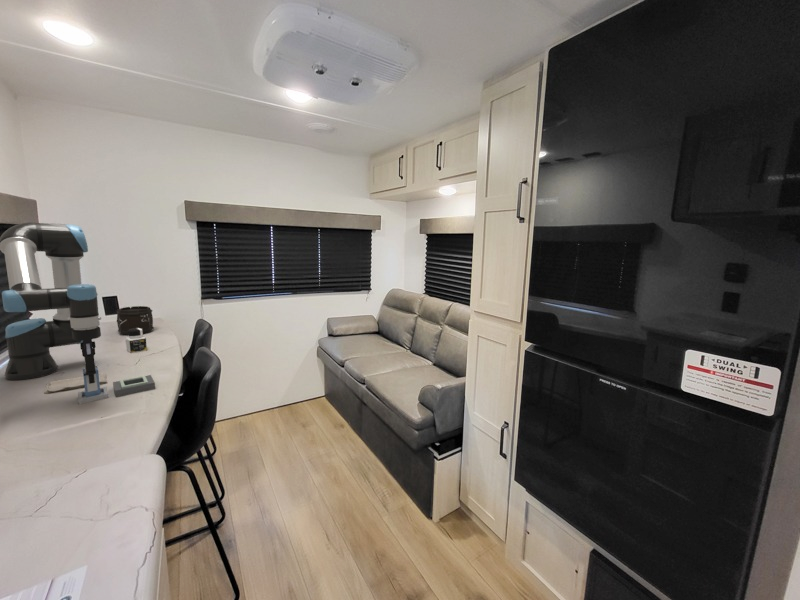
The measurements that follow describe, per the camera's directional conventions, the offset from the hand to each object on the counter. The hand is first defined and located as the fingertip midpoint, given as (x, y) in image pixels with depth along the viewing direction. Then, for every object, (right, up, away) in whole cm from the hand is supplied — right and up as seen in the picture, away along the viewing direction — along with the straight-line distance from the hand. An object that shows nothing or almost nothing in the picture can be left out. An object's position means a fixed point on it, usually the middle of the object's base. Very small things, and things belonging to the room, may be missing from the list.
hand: (92, 388), depth 122 cm
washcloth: (-16, -3, +11) cm, 19 cm away
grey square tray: (0, -4, +1) cm, 4 cm away
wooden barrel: (-55, +12, +88) cm, 104 cm away
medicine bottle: (-28, +5, +55) cm, 62 cm away
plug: (0, -3, 0) cm, 3 cm away
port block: (+9, -3, +9) cm, 13 cm away
